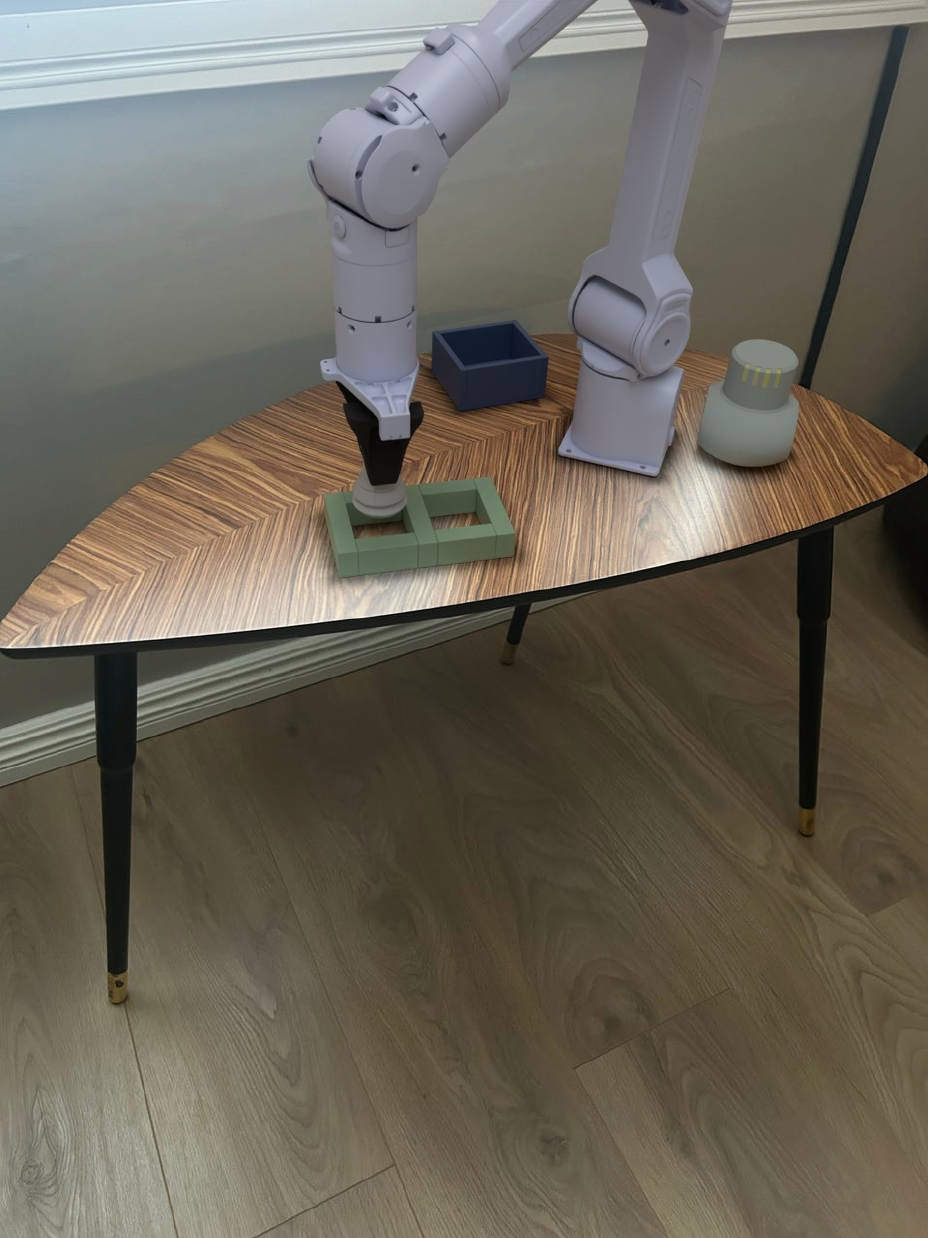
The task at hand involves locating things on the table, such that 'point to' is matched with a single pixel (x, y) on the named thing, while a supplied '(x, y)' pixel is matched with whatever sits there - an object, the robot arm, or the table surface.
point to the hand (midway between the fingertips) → (379, 468)
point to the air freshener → (752, 406)
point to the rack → (422, 529)
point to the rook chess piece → (378, 497)
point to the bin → (489, 365)
